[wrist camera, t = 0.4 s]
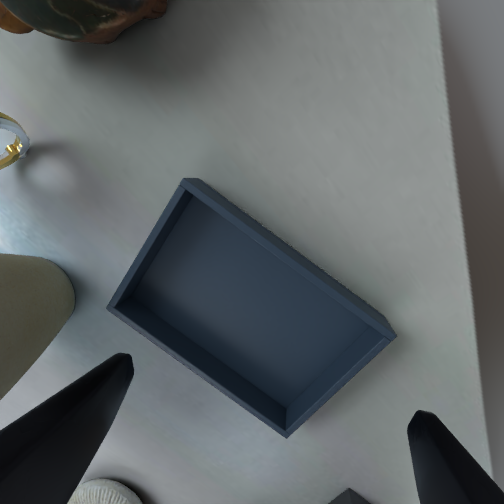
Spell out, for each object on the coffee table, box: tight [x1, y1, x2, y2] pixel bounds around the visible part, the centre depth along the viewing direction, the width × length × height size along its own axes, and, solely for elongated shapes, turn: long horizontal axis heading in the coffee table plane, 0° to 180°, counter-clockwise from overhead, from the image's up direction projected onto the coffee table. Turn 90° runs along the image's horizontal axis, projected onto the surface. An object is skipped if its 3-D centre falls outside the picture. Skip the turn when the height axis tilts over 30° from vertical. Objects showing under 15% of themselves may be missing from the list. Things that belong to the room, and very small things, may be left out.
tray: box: [106, 178, 397, 439], centre depth 23 cm, size 13×19×3 cm
